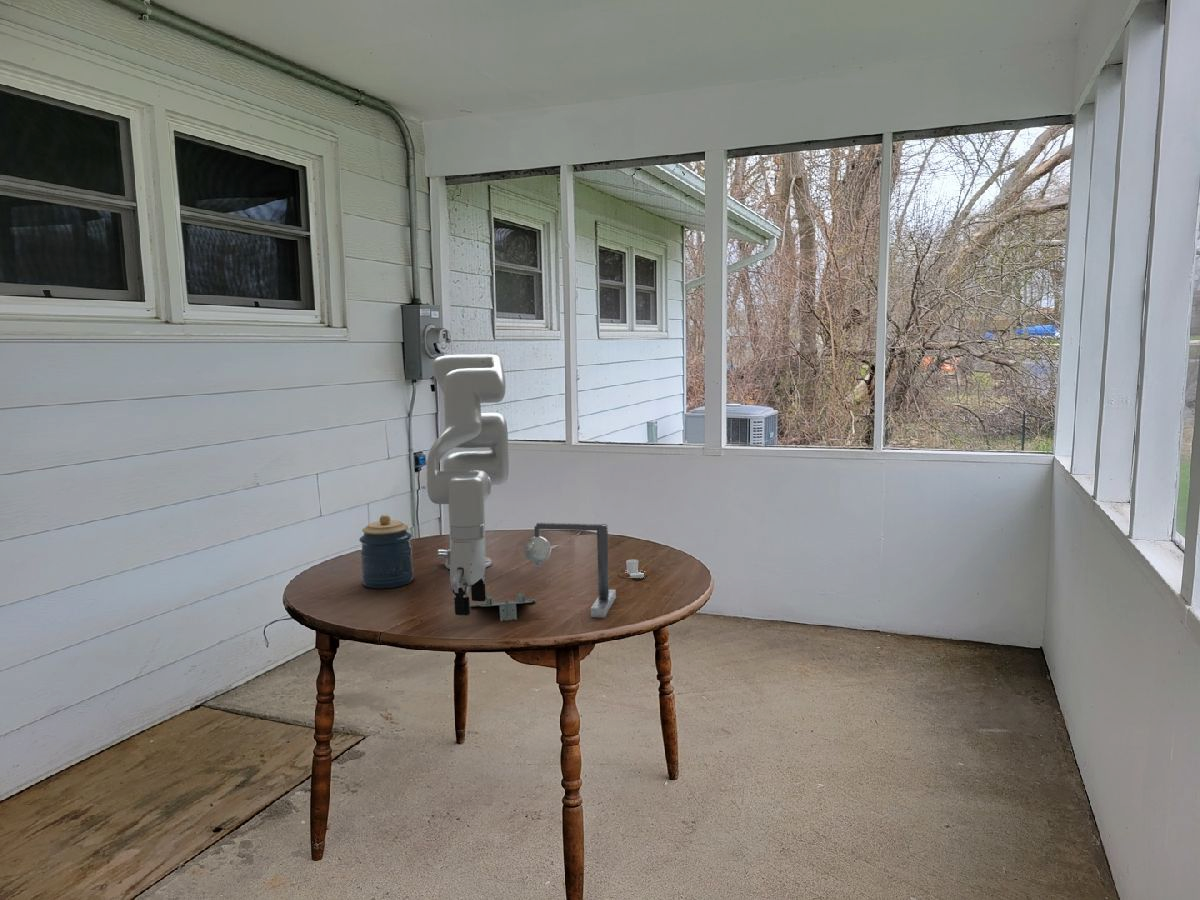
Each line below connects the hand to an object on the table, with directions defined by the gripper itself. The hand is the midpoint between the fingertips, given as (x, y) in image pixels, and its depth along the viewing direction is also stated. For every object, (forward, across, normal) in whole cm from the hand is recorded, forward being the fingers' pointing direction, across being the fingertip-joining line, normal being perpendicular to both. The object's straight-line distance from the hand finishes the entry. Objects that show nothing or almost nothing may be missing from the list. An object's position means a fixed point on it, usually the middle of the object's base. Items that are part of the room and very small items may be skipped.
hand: (470, 607), depth 173 cm
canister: (+2, -22, -31) cm, 38 cm away
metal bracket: (+3, -4, +6) cm, 8 cm away
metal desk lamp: (+2, -10, +20) cm, 22 cm away
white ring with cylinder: (+3, -35, +28) cm, 45 cm away
